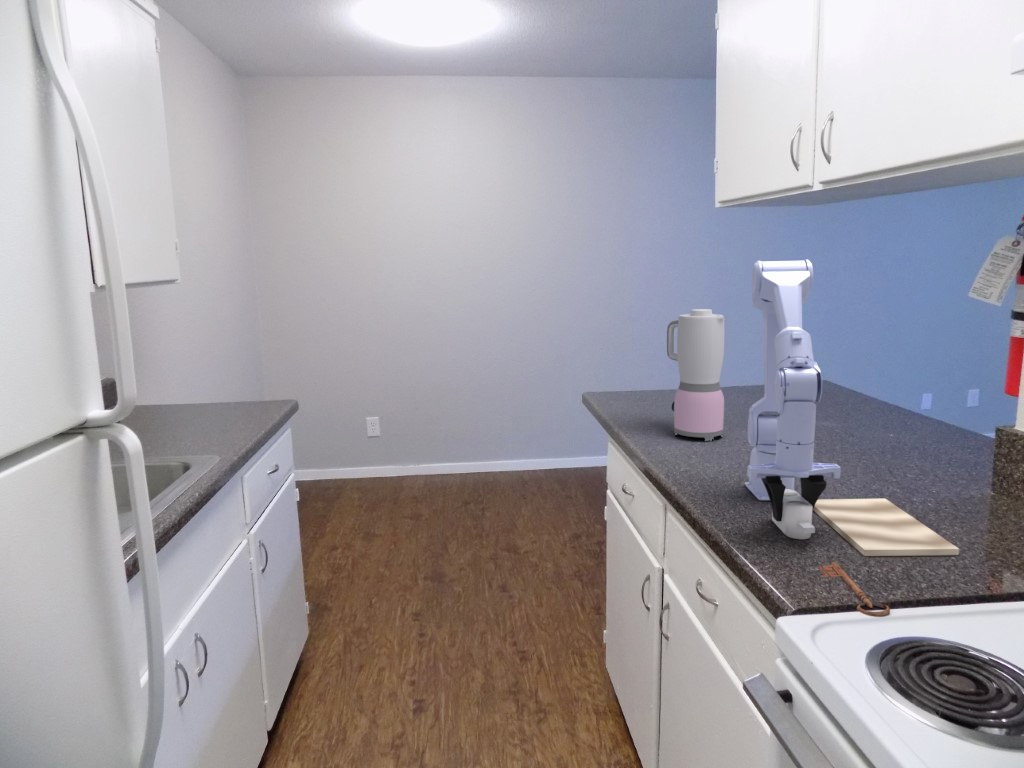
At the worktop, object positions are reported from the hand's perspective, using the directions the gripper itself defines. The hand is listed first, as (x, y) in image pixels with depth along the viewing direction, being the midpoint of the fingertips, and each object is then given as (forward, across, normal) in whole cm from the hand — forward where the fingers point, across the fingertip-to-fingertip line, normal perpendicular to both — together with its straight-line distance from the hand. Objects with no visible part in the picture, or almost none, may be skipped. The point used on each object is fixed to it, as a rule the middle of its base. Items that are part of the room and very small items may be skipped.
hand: (791, 519), depth 115 cm
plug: (+1, 0, -1) cm, 2 cm away
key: (+2, 0, -21) cm, 21 cm away
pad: (+2, +14, 0) cm, 14 cm away
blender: (+2, -2, +62) cm, 62 cm away
